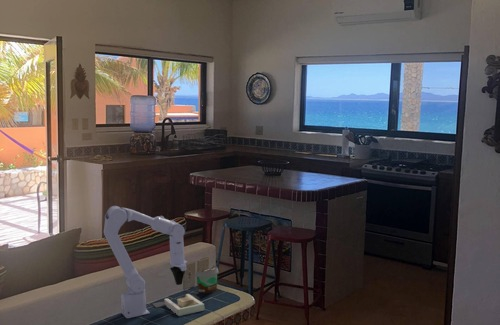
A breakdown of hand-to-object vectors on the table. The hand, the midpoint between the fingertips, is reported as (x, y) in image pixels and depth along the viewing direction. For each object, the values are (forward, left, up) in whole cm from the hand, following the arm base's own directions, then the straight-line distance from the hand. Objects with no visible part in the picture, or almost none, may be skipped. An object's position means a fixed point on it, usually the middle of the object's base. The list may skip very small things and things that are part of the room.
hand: (179, 284), depth 223 cm
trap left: (-7, +5, -9) cm, 12 cm away
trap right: (+8, +5, -9) cm, 13 cm away
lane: (0, -4, -9) cm, 9 cm away
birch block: (0, -6, -9) cm, 11 cm away
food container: (+18, +9, -9) cm, 22 cm away
